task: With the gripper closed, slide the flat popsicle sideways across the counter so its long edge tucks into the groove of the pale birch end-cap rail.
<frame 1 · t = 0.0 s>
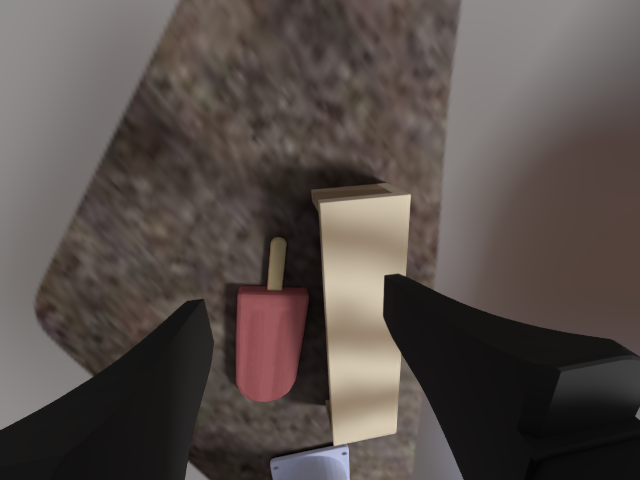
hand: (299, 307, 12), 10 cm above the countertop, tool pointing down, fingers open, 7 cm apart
popsicle: (270, 317, 24), on the countertop
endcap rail: (351, 310, 25), on the countertop
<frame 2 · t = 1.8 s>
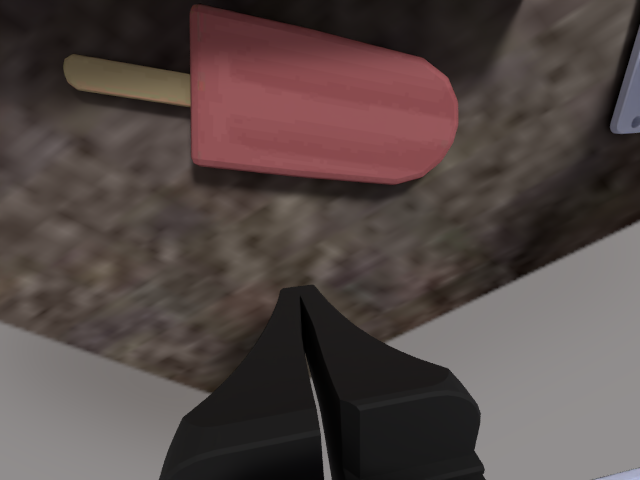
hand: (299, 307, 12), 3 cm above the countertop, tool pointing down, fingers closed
popsicle: (280, 107, 13), on the countertop
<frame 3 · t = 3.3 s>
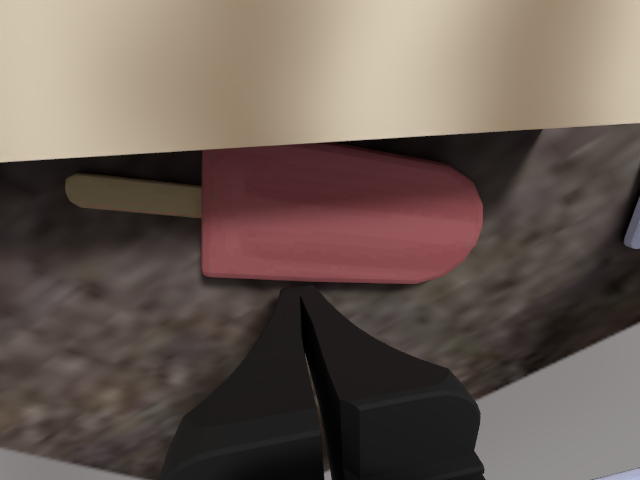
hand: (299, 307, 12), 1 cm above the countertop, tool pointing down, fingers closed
popsicle: (294, 205, 12), on the countertop, touching gripper
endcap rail: (274, 45, 9), on the countertop
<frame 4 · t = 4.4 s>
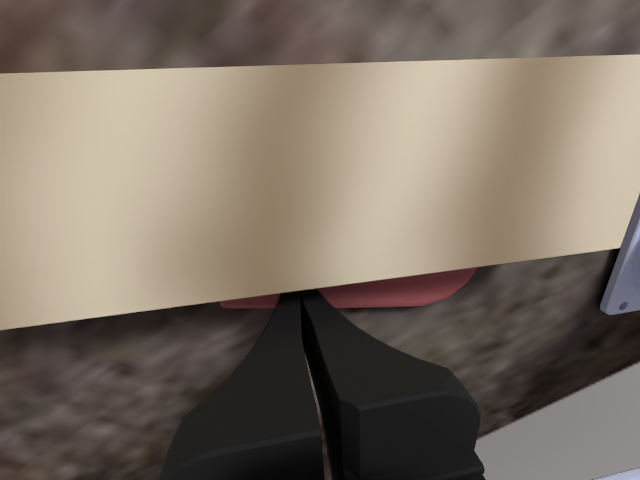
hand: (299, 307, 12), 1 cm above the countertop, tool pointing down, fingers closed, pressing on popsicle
popsicle: (304, 234, 13), on the countertop, touching gripper
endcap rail: (285, 171, 11), on the countertop
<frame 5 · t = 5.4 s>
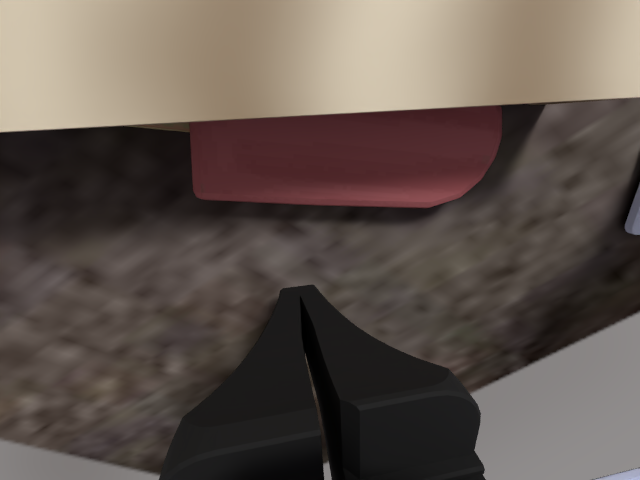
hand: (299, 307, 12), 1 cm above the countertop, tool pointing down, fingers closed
popsicle: (293, 124, 11), on the countertop
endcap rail: (269, 23, 9), on the countertop
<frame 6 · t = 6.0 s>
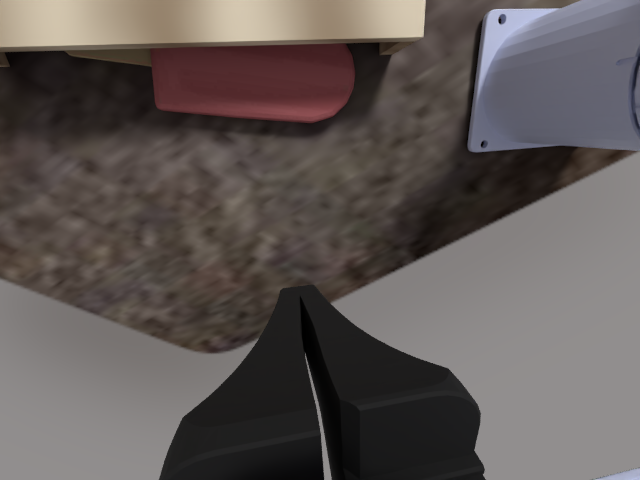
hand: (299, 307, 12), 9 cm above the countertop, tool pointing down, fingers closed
popsicle: (222, 66, 17), on the countertop
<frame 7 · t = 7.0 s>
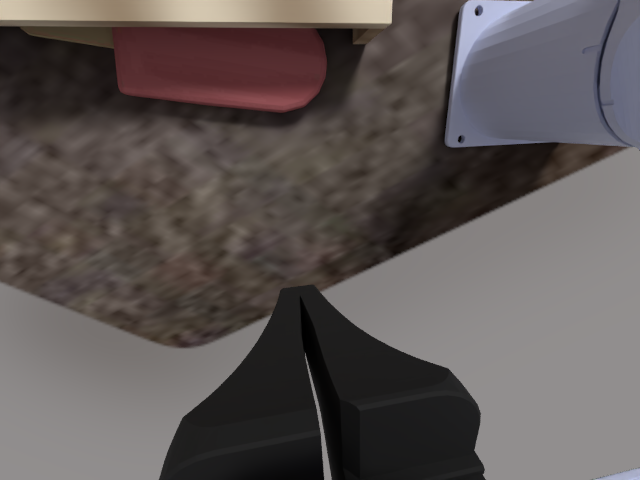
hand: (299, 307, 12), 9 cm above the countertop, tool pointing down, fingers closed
popsicle: (190, 52, 16), on the countertop
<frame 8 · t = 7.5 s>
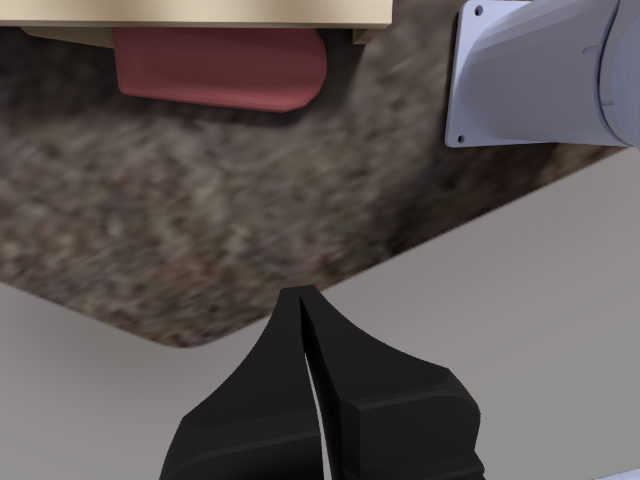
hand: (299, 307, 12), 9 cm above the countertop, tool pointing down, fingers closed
popsicle: (191, 52, 16), on the countertop
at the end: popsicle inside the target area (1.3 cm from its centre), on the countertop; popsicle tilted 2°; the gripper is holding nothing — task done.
